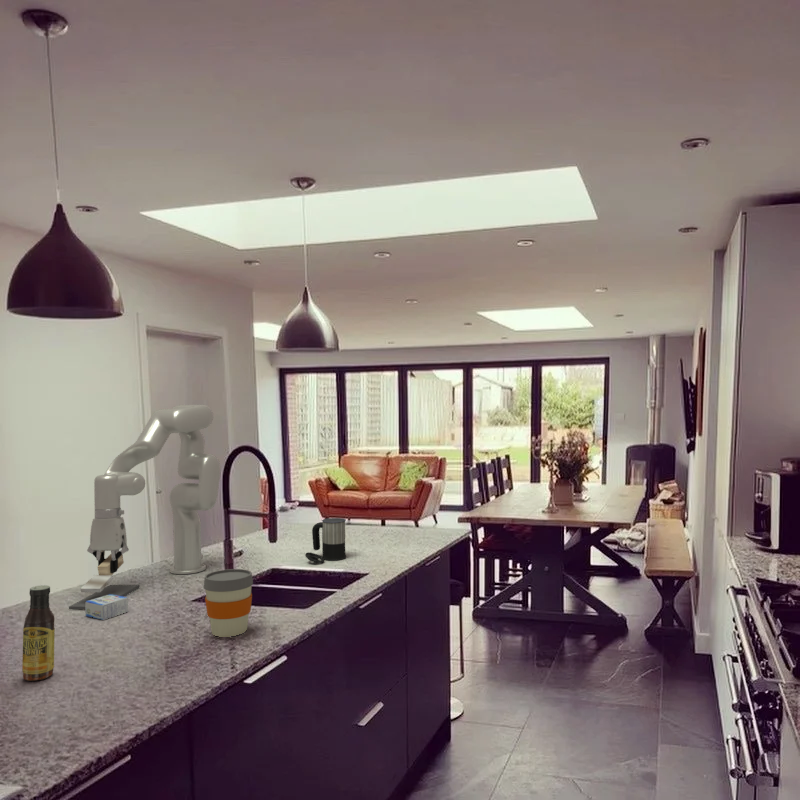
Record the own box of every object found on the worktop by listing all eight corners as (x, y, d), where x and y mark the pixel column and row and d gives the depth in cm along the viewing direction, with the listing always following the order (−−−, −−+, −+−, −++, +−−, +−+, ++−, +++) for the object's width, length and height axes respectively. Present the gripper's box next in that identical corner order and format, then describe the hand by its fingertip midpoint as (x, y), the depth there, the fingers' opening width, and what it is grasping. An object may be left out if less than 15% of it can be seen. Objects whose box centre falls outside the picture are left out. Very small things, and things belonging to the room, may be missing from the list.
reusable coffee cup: (212, 624, 183) (210, 569, 183) (258, 623, 183) (257, 568, 183) (198, 640, 171) (197, 581, 171) (248, 639, 171) (247, 580, 171)
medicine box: (128, 596, 196) (102, 604, 189) (128, 612, 196) (102, 620, 189) (111, 593, 200) (84, 601, 193) (111, 608, 200) (84, 616, 193)
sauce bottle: (16, 683, 146) (15, 591, 147) (31, 671, 153) (29, 584, 153) (47, 681, 147) (45, 590, 147) (60, 670, 153) (58, 583, 153)
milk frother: (348, 555, 263) (348, 517, 263) (340, 565, 247) (339, 525, 248) (313, 555, 265) (312, 517, 265) (302, 565, 249) (301, 525, 249)
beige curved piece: (110, 562, 220) (108, 551, 219) (128, 562, 220) (126, 551, 219) (81, 592, 203) (79, 580, 202) (100, 592, 202) (98, 580, 201)
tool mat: (110, 587, 223) (110, 584, 223) (139, 587, 223) (139, 584, 223) (68, 610, 199) (68, 606, 199) (101, 610, 199) (101, 606, 199)
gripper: (138, 512, 216) (138, 569, 216) (89, 512, 217) (89, 569, 217) (126, 515, 209) (127, 575, 208) (76, 515, 210) (76, 575, 210)
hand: (108, 571), depth 213 cm, fingers closed on beige curved piece, 3 cm apart
